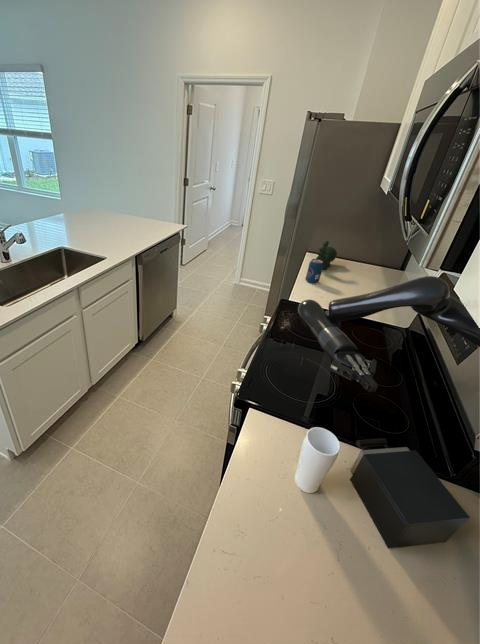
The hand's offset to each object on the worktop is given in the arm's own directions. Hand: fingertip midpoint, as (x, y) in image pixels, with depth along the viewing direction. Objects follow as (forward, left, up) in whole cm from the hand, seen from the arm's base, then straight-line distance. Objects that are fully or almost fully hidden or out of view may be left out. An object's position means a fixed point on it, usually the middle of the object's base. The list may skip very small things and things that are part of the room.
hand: (373, 389), depth 73 cm
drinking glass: (+18, +11, -17) cm, 27 cm away
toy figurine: (-49, -114, -17) cm, 125 cm away
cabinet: (+1, +18, -17) cm, 25 cm away
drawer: (+1, +14, -16) cm, 21 cm away
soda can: (-32, -93, -17) cm, 100 cm away
